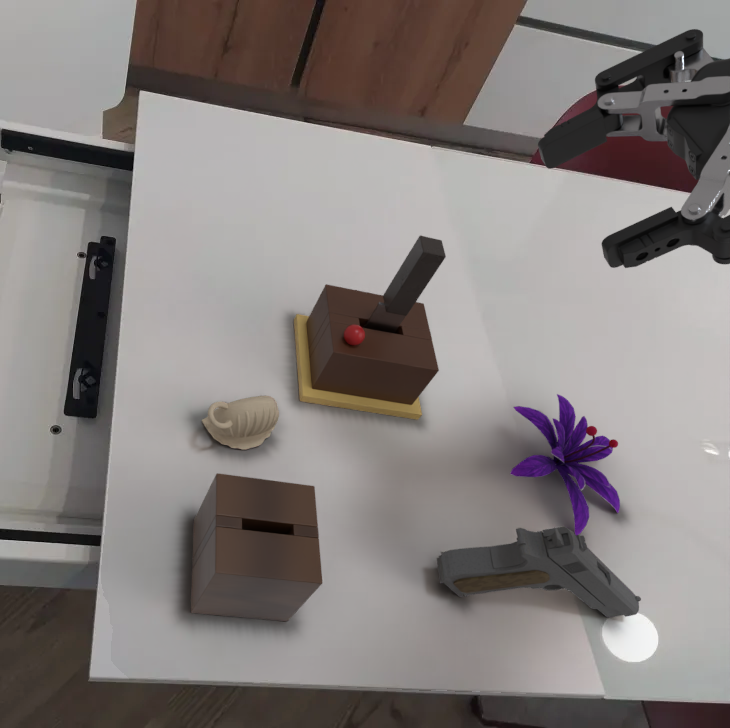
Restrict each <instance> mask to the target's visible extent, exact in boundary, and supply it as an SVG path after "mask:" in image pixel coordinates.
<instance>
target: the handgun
mask: <svg viewBox="0 0 730 728" xmlns="http://www.w3.org/2000/svg"><path fill="white" fill-rule="evenodd" d="M515 532H516V541H514V542H511V543H505V544H497V545H490V546H475V547H474V546H473V547H464V548H455V549H449V550H446V551H440V555H438V557H436V564H437V571H438V577H439V578H438V579H439V583H440V584H444V585H445V586H446V587H448V588H449V589H450V590H451V591H452V592H453V593H454V594H456V596H458V597H459V598H463V597H464V596H465V597H469V596H474V595H480V594H489V593H495V592H503V591H509V590H510V591H511V590H517V589H532V590H537V589H540V590H544V591H551V592H554V591H559V590H564V589H565V590H566V591H569V592H570V593H572V594H573V595H574V596H575V597H577V599H579V600H580V601H582V602H583V604H585V605H587V606H588V607H589V608H590V609H592V610H598V611H599V612H600V613H601V614H603V615H604V616H605V617H606V618H607V619H608V618H610V619H611V618H615V617H620V616H623V617H625V618H626V617H631V616H635V615H637V614H638V613H639V610H640V603H639V602H641V601H642V598H641V597H640V596H639V595H636V594H635V593H634V592H633V591H632V590H631V588H629V587H628V586H627V585H626V584H625V583H624V582H623V581H622V580H621V579H620V578H619V577H618V576H617V575H616V574H615V573H614V572H613V571H612V570H611V569H610V568H609V567H608V566H607V565H606V564H605V563H604V562H603V561H602V560H601V559H600V558H599V557H598V556H597V555H596V554H595V553H594V552H593V551H592V550H591V549H590V548H589V547H588V545H587V543H586V537H585V536H584V535H583V534H582V535H581V534H579V535H575V531H573V530H571V529H570V528H569V527H567V526H565V525H562V526H557V527H551V528H546V529H542V530H538V531H531V530H528V529H526V528H524V527H517V528H516V529H515Z"/></svg>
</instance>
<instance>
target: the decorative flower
mask: <svg viewBox="0 0 730 728" xmlns="http://www.w3.org/2000/svg"><path fill="white" fill-rule="evenodd" d="M556 397H557V400H558V411H559V412H558V415H559V416H558V419H557V418H552V422H553V423H552V422H551V421H550V419H549V417H548V415H546V414H544V413H543V412H541V411H540V410H538V409H535V408H532V407H528V406H520V405H517V406H513V409H514V410H515V411H516V412H517V413H518V414H520V415H521V416H522V417H524V418H525V419H526V420H528V421H529V422H530V423H531V424H532V425H534V427H536V429H538V430H539V432H540V433H541V434H542V435H543V436H544V437H545V440H546V441H547V444H548V445H549V447H550V449H551V450H550V454H551V455H552V457H550V456H549V455H544V454H533V455H530V456H527V457H526V458H524V459H523V460H522V461H520V462H519V463H518V464H516V465H515V466H514V467H513V468H512V469H511V471H510V473H509V475H511V476H515V477H519V478H521V477H523V478H539V477H545V476H547V475H550V474H552V473H553V472H556V470H557V472H558V473H559V475H560V477H561V478H562V480H563V483H564V485H565V487H566V490H567V493H568V496H569V499H570V502H571V508H572V513H573V519H574V520H573V521H574V534H575V535H581V533H582V532H583V530H584V529H585V527H586V526H587V524H588V522H589V519H590V507H589V504H588V502H587V500H586V498H585V495H584V493H583V492H582V491H583V490H584V489H585V486H586V487H588V488H589V489H591V490H592V491H594V492H595V493H596V494H598V496H600V497H601V498H603V499H604V500H605V501H606V502H607V503H608V504H609V505H611V507H612V508H613V509H614V510H615V511H616V513H617V514H619V512H620V508H621V500H620V496H619V493H618V491H617V489H616V488H615V487H614V486H613V485H612V484H611V482H610V481H609V480H608V477H607V476H605V474H604V473H603V472H601V470H599V469H598V468H597V467H596V468H595V467H593V466H590V465H587V464H585V463H591V462H597V461H601V460H604V459H605V458H607V457H609V456H610V455H611V454H612V453H613V450H614V449H615V448H617V447H618V446H619V442H618V440H616V439H609V438H608V437H607V436H606V435H598V436H596V435H597V433H598V429H597V427H596V426H594V425H590V426H589V425H588V421H587V418H586V416H585V415H583V416H581V418H580V419H579V421H578V422H577V424H576V412H575V408H574V406H573V405H572V404H571V403H570V401H569V400H568V399H567V398H566V397H564V396H563V395H561V394H558V393H556ZM575 424H576V425H575ZM554 427H555V428H554ZM587 435H588V436H590V437H591V439H589V440H587V441H586V442H584V440H585V438H586V436H587ZM583 442H584V443H583ZM572 477H573V478H574V479H575V480H574V479H573V478H572ZM575 481H576V482H575Z"/></svg>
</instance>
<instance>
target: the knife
mask: <svg viewBox="0 0 730 728" xmlns="http://www.w3.org/2000/svg"><path fill="white" fill-rule="evenodd" d="M446 257H447V256H446V251H445V248H444V244H443V240H441V239H437V238H434V237H430V236H429V237H428V236H424V235H419V236H418V237H417V239H416V241H415V242H414V244H413V245H412V247H411V249H410V251H409V252H408V254H407V255H406V257H405V259H404V260H403V262H402V264H401V266H400V267H399V268H398V270H397V272H396V274H395V275H394V277H393V279H392V280H391V282H390V284H389V285H388V286H387V288H386V290H385V291H384V294H383V299H384V303H382V302H379V303H378V305H377V306H376V308H375V309H374V311H373V313H372V314H371V316H370V318H369V319H368V321H367V323H366V324H365V326H364V327H363V328H367V329H373V330H378V331H383V332H389V333H395V331H396V330H397V328H398V327H399V325H400V324H401V322H402V321H403V319H404V318H405V316H407V314H408V313H409V311H410V310H411V308H412V307H413V305H414V304H415V302H418V300H419V298H420V297H421V295H422V294H423V293H424V291H425V289H426V287H427V286H428V285H429V283H430V282H431V280H432V279H433V277H434V276H435V274H436V272H437V271H438V270H439V268H440V266H441V265H442V264H443V262H444V261H445V259H446Z"/></svg>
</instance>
